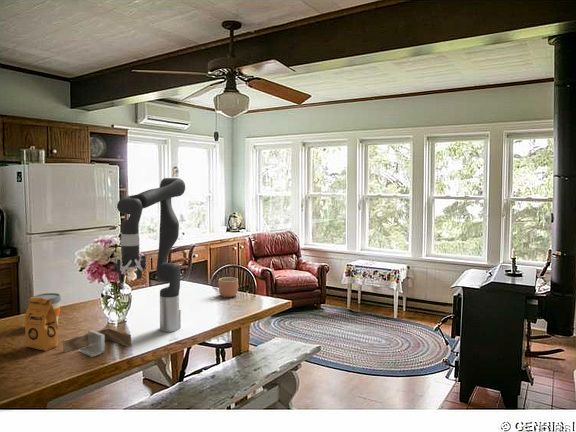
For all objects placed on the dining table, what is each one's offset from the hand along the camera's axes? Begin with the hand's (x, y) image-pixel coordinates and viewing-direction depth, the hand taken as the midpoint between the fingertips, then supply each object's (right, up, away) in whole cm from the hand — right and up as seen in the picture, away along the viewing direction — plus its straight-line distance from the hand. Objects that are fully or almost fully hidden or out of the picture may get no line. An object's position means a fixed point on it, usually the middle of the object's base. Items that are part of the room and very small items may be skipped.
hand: (130, 280), depth 195 cm
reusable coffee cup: (-52, -27, +29) cm, 65 cm away
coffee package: (-39, -30, +1) cm, 49 cm away
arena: (-15, -30, 0) cm, 33 cm away
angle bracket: (-15, -30, -3) cm, 34 cm away
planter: (+31, -23, +91) cm, 99 cm away
